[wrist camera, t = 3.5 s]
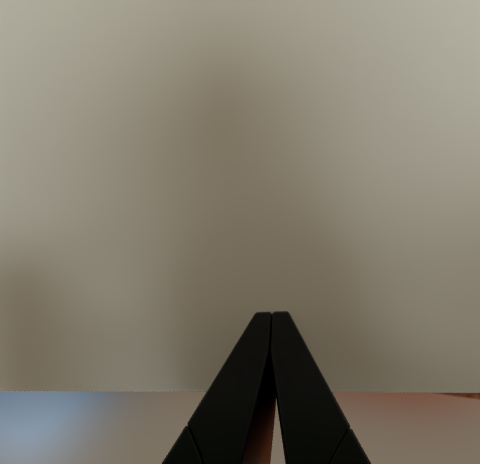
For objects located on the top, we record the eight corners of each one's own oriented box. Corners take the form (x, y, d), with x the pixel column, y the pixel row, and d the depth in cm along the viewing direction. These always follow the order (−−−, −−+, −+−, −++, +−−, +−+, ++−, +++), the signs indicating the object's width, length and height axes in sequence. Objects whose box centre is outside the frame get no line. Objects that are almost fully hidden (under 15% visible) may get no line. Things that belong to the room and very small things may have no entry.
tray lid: (-37, 381, 12) (-61, 390, 11) (-42, -13, 13) (-64, -30, 12) (719, 380, 9) (761, 393, 8) (650, -148, 10) (682, -184, 9)
